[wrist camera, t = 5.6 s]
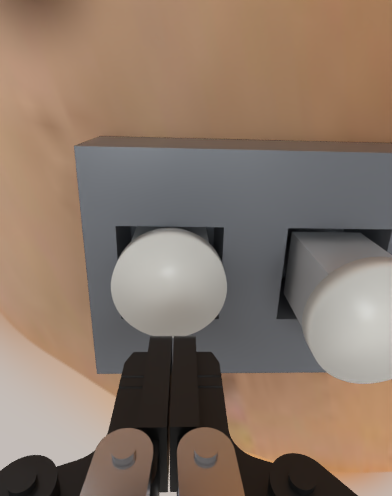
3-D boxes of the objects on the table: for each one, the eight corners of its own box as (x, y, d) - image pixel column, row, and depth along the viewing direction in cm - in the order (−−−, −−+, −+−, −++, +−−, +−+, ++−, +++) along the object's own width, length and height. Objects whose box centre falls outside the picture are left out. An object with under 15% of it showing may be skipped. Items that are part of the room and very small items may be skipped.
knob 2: (378, 217, 18) (466, 268, 12) (358, 305, 20) (426, 383, 14) (278, 216, 18) (322, 267, 12) (267, 305, 20) (301, 384, 14)
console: (518, 146, 20) (617, 158, 16) (455, 321, 25) (518, 370, 20) (99, 136, 19) (74, 145, 15) (113, 321, 24) (97, 373, 19)
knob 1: (217, 200, 20) (230, 236, 15) (213, 280, 22) (223, 337, 17) (127, 199, 20) (106, 234, 15) (131, 279, 22) (114, 338, 17)
